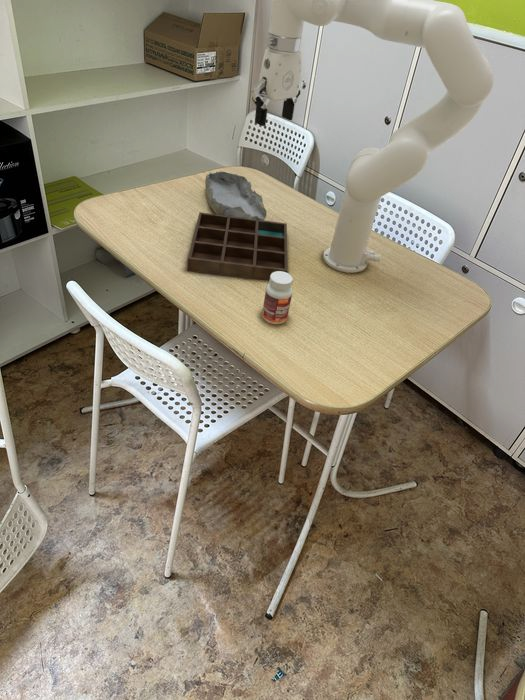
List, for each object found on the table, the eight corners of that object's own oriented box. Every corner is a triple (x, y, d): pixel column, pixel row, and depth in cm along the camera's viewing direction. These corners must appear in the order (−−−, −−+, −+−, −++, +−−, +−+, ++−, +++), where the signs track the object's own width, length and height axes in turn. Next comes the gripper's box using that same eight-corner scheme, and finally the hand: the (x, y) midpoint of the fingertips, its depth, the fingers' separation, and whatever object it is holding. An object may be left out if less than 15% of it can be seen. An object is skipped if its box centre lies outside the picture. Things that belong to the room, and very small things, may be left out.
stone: (267, 232, 159) (227, 184, 176) (274, 207, 153) (232, 160, 171) (226, 235, 152) (189, 185, 170) (232, 209, 147) (192, 160, 164)
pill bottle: (276, 328, 121) (284, 288, 114) (256, 316, 124) (262, 276, 116) (292, 317, 125) (300, 278, 118) (272, 306, 127) (279, 266, 120)
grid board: (284, 234, 155) (286, 223, 153) (285, 283, 136) (287, 270, 133) (198, 223, 154) (199, 212, 151) (187, 271, 134) (187, 258, 132)
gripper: (269, 50, 111) (259, 131, 123) (320, 45, 122) (307, 121, 133) (245, 41, 115) (238, 121, 126) (296, 37, 125) (286, 112, 136)
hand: (273, 121), depth 129 cm, fingers open, 9 cm apart
